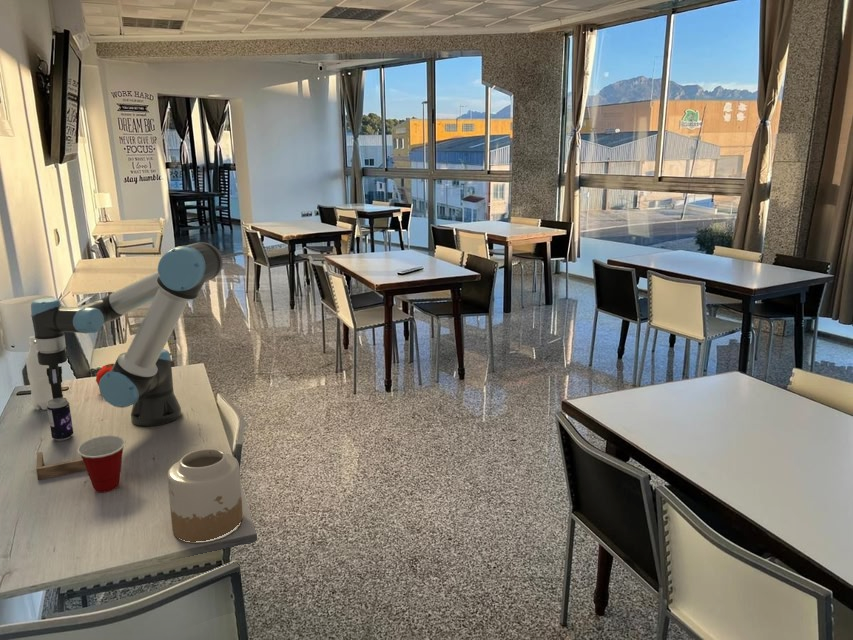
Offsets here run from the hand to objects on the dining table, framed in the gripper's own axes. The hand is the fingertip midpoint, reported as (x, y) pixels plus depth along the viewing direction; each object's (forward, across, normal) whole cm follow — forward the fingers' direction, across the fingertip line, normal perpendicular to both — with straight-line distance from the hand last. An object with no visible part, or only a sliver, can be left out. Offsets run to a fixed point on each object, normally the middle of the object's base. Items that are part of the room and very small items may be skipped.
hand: (61, 422), depth 188 cm
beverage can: (+3, +6, 0) cm, 7 cm away
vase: (+2, +76, +29) cm, 81 cm away
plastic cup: (+3, +46, +10) cm, 47 cm away
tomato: (+3, -32, +17) cm, 37 cm away
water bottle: (+3, -24, -5) cm, 25 cm away
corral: (+2, +26, 0) cm, 27 cm away
